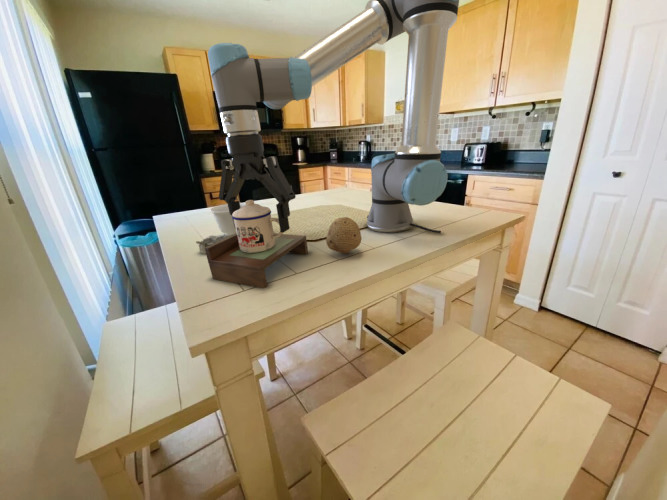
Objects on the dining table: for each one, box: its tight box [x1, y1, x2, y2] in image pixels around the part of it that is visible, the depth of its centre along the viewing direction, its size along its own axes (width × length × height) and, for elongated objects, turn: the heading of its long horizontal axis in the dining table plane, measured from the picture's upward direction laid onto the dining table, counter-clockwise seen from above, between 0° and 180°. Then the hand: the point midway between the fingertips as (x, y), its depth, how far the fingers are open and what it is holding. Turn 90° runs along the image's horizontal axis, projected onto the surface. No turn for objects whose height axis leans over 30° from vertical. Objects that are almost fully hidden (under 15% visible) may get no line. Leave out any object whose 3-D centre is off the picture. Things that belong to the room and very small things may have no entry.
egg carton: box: [195, 234, 233, 255], centre depth 82 cm, size 11×8×4 cm
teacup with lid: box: [232, 199, 283, 253], centre depth 65 cm, size 12×9×12 cm
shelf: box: [205, 232, 309, 289], centre depth 68 cm, size 15×20×8 cm
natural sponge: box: [325, 216, 362, 255], centre depth 71 cm, size 9×9×10 cm
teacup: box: [209, 202, 246, 235], centre depth 92 cm, size 12×15×10 cm
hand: (261, 229), depth 66 cm, fingers open, 13 cm apart
